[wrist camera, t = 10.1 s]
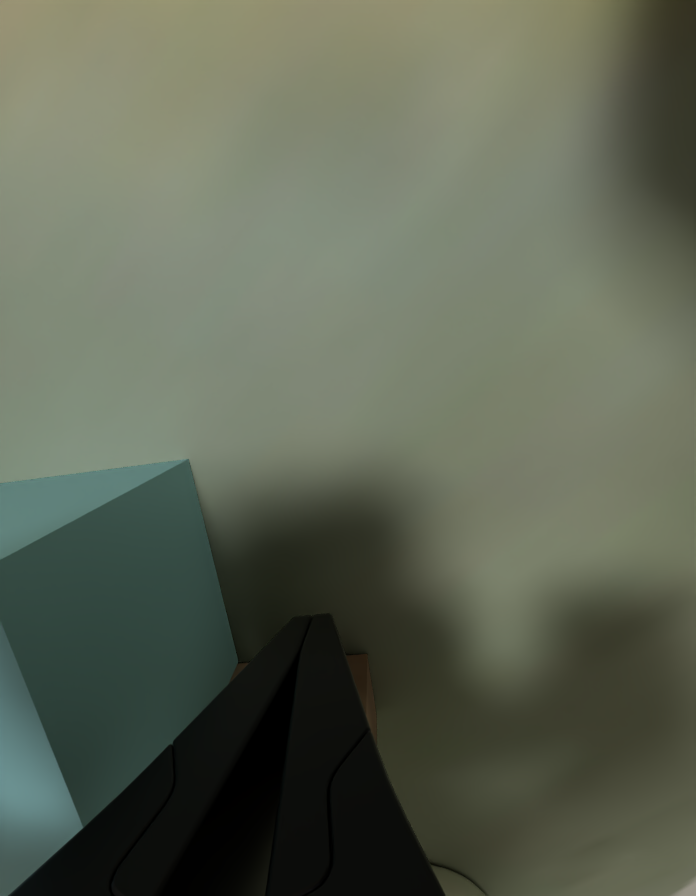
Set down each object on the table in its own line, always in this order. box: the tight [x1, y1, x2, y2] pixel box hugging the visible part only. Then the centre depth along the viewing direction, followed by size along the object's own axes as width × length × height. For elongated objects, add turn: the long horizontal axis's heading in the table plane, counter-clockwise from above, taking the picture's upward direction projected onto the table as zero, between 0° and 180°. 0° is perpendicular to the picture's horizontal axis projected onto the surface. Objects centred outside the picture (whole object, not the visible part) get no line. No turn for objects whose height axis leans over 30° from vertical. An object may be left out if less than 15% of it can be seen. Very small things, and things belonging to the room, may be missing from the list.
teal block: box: [0, 459, 238, 896], centre depth 9 cm, size 7×7×6 cm
